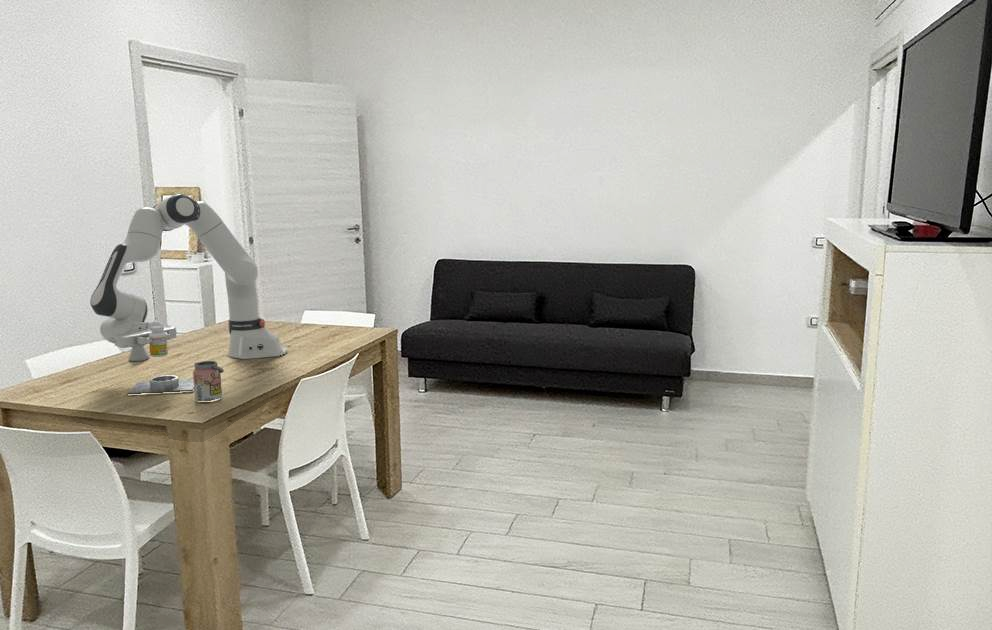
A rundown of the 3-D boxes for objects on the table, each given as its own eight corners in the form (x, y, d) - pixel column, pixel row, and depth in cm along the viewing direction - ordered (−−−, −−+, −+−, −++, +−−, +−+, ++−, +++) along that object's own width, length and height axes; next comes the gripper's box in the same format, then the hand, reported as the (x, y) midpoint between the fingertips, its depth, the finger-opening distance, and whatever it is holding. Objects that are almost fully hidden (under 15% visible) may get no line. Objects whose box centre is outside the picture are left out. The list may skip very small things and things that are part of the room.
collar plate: (199, 381, 273) (199, 371, 272) (192, 392, 259) (191, 382, 259) (138, 384, 269) (137, 374, 269) (127, 396, 256) (126, 385, 255)
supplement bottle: (153, 353, 265) (151, 325, 264) (170, 353, 266) (168, 325, 264) (148, 357, 260) (145, 328, 258) (164, 357, 260) (162, 328, 259)
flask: (141, 362, 302) (139, 336, 300) (124, 361, 303) (122, 335, 302) (153, 357, 309) (151, 332, 307) (136, 357, 310) (134, 332, 309)
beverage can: (210, 394, 257) (207, 358, 255) (230, 397, 254) (228, 360, 251) (189, 402, 248) (186, 365, 246) (210, 405, 245) (207, 367, 243)
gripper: (104, 330, 260) (129, 335, 252) (160, 320, 277) (185, 324, 269) (106, 349, 261) (131, 354, 253) (162, 338, 278) (186, 342, 270)
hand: (159, 339), depth 261 cm, fingers closed on supplement bottle, 5 cm apart
